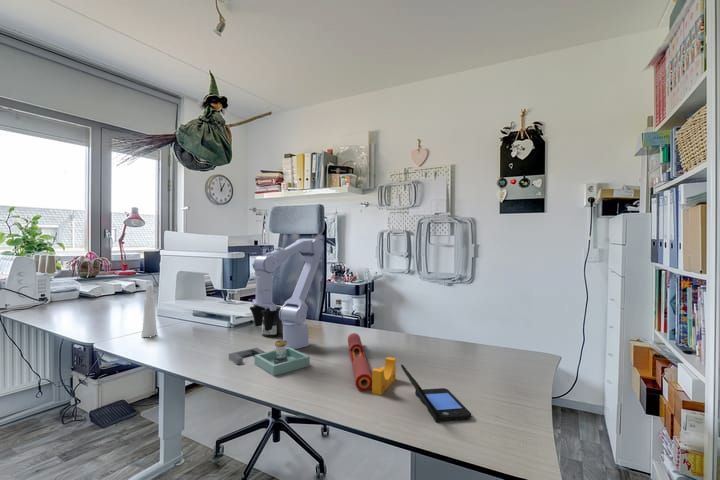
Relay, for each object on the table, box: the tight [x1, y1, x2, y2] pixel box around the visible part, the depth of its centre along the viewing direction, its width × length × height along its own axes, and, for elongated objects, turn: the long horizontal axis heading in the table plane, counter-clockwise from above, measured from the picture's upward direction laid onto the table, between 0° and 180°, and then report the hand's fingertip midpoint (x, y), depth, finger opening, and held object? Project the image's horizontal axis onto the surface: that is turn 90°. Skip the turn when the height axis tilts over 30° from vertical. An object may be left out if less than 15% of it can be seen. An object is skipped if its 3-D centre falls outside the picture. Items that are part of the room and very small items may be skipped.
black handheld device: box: [400, 364, 472, 424], centre depth 88 cm, size 16×14×9 cm
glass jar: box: [274, 339, 288, 364], centre depth 115 cm, size 4×4×7 cm
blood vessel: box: [347, 332, 372, 392], centre depth 117 cm, size 42×5×5 cm, turn 5°
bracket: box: [228, 347, 266, 365], centre depth 122 cm, size 10×7×2 cm
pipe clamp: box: [371, 356, 397, 396], centre depth 100 cm, size 12×4×6 cm, turn 155°
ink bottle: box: [261, 305, 283, 338], centre depth 151 cm, size 10×9×12 cm
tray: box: [254, 347, 311, 377], centre depth 115 cm, size 13×13×3 cm
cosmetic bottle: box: [140, 283, 158, 338], centre depth 148 cm, size 6×6×22 cm
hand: (263, 328), depth 123 cm, fingers open, 7 cm apart
